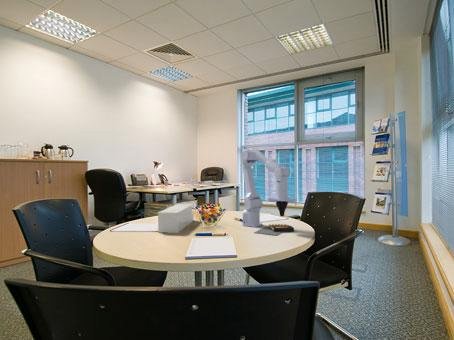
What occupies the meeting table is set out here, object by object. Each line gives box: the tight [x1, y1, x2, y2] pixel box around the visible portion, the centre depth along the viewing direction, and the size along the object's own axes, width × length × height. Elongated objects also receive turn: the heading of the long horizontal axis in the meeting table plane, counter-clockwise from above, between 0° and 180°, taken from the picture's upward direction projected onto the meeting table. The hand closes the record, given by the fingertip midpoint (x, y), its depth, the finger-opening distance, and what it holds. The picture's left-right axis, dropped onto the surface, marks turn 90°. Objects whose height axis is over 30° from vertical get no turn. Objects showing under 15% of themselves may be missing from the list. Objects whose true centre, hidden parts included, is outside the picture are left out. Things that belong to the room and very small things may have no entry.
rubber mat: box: [254, 225, 283, 237], centre depth 137 cm, size 12×16×1 cm
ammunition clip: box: [268, 223, 295, 233], centre depth 140 cm, size 11×2×12 cm
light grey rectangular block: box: [157, 203, 194, 234], centre depth 151 cm, size 32×11×11 cm, turn 173°
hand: (282, 216), depth 134 cm, fingers closed
